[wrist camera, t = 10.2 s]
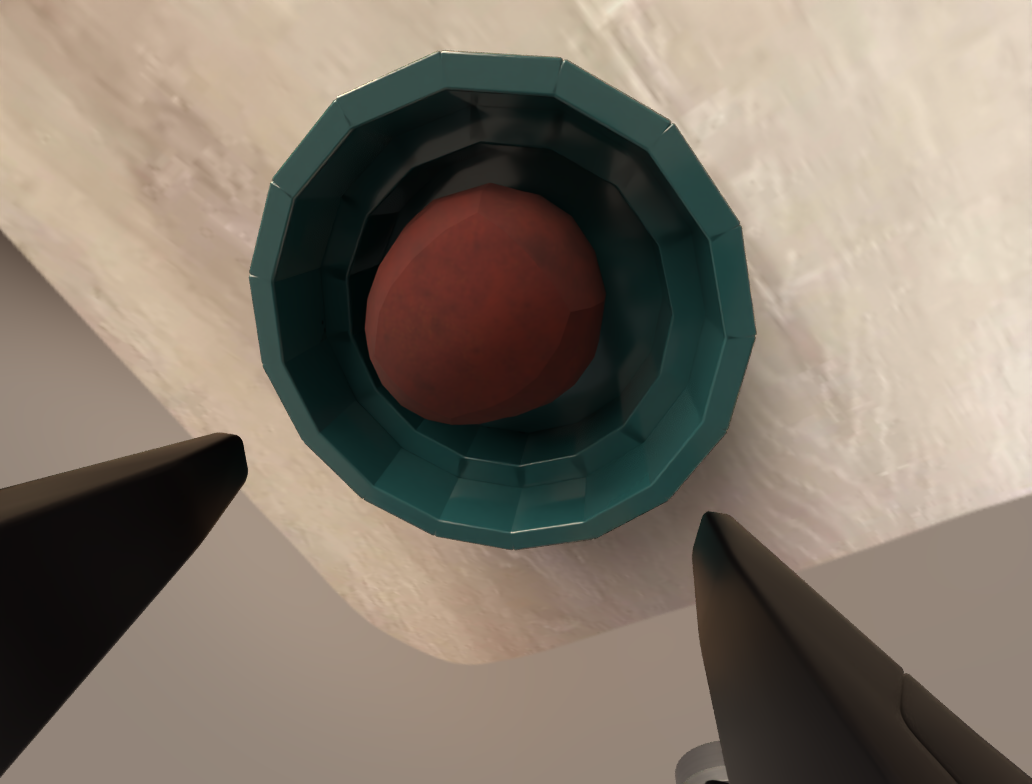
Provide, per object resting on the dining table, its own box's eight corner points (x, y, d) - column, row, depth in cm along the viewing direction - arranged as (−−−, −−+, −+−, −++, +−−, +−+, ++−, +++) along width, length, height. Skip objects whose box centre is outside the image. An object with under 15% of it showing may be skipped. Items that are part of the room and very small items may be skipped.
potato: (371, 308, 20) (265, 367, 14) (503, 136, 17) (443, 111, 10) (501, 422, 21) (458, 526, 15) (648, 284, 18) (674, 342, 12)
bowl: (662, 481, 22) (683, 581, 16) (357, 433, 23) (283, 510, 18) (755, 109, 16) (837, 72, 10) (333, 80, 17) (210, 35, 12)
